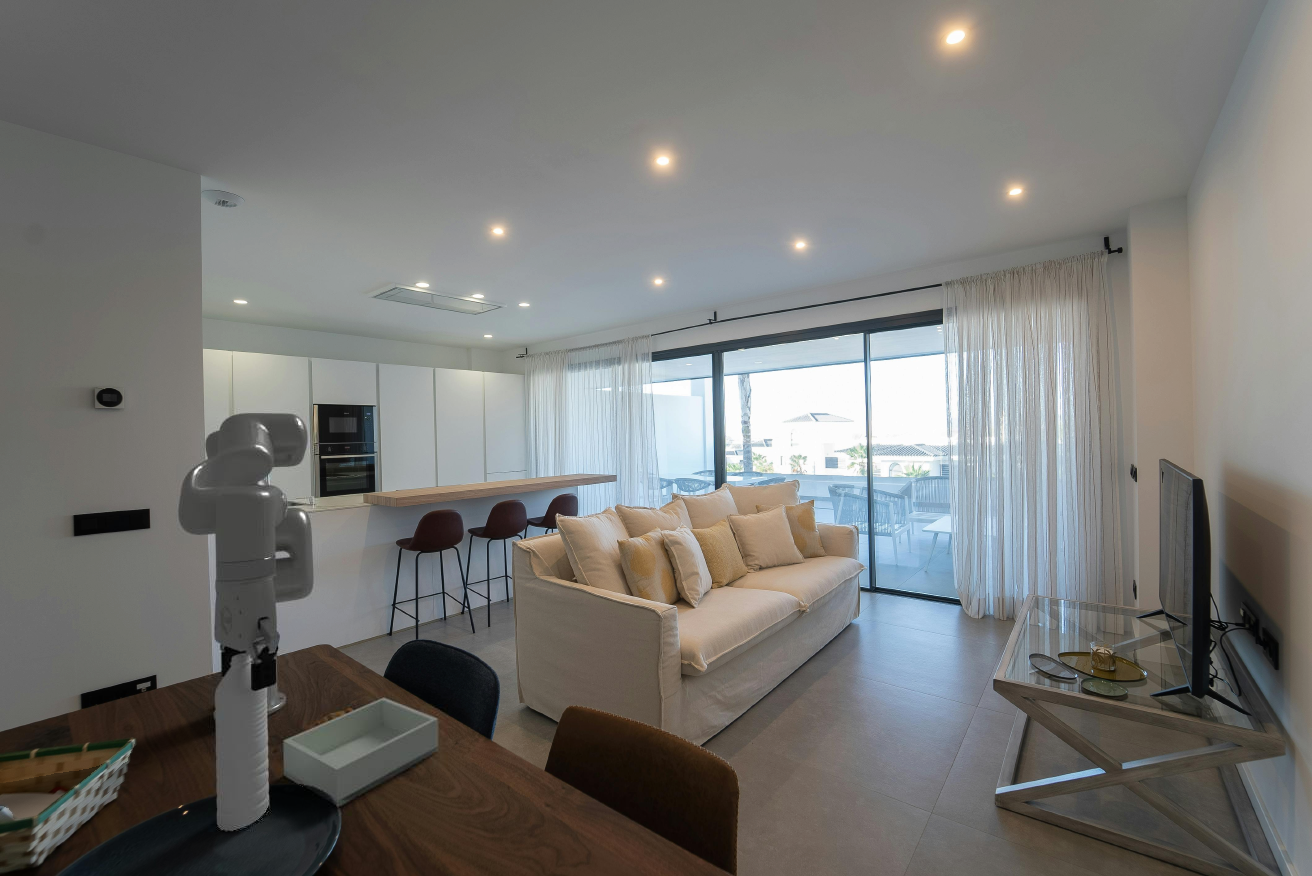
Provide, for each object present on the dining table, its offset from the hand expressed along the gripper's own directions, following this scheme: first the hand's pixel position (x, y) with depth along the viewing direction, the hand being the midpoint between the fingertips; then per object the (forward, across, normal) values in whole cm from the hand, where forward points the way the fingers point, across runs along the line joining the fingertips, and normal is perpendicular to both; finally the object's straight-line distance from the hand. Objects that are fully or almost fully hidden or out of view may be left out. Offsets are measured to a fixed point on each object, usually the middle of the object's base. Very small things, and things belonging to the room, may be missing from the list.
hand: (248, 680), depth 88 cm
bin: (+21, +1, +17) cm, 27 cm away
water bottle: (+21, -1, 0) cm, 21 cm away
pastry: (+21, -14, +20) cm, 32 cm away
